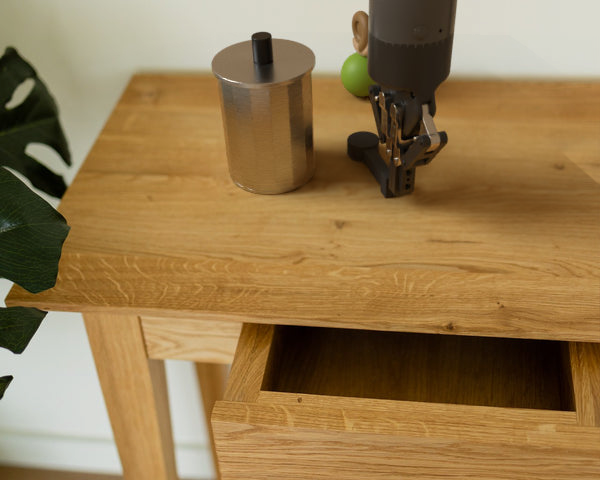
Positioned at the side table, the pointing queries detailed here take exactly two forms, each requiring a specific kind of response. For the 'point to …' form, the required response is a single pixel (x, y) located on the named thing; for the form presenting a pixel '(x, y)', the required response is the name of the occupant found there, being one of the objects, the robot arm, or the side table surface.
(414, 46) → the robot arm
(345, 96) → the side table surface
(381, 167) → the black disc-ended bar
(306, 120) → the pot
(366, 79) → the snail figurine
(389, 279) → the side table surface
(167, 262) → the side table surface
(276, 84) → the pot lid
